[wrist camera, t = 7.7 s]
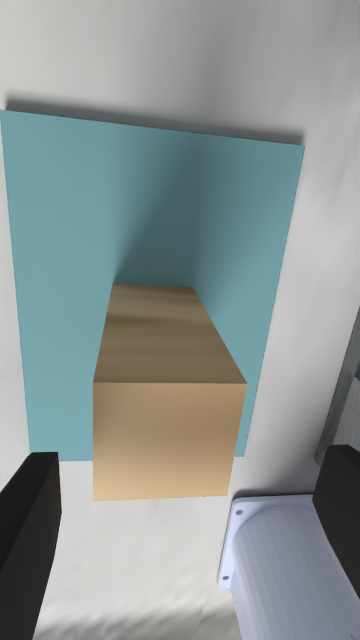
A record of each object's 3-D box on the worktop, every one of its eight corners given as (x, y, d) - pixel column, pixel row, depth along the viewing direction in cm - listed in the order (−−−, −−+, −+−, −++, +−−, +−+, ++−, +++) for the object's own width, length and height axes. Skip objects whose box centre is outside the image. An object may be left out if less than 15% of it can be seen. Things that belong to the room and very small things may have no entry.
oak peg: (185, 357, 19) (226, 495, 11) (111, 356, 18) (93, 501, 10) (192, 287, 17) (247, 383, 9) (112, 283, 17) (92, 382, 8)
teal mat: (240, 449, 23) (243, 456, 22) (33, 454, 21) (31, 462, 20) (299, 147, 16) (305, 145, 16) (4, 112, 14) (-1, 109, 14)
